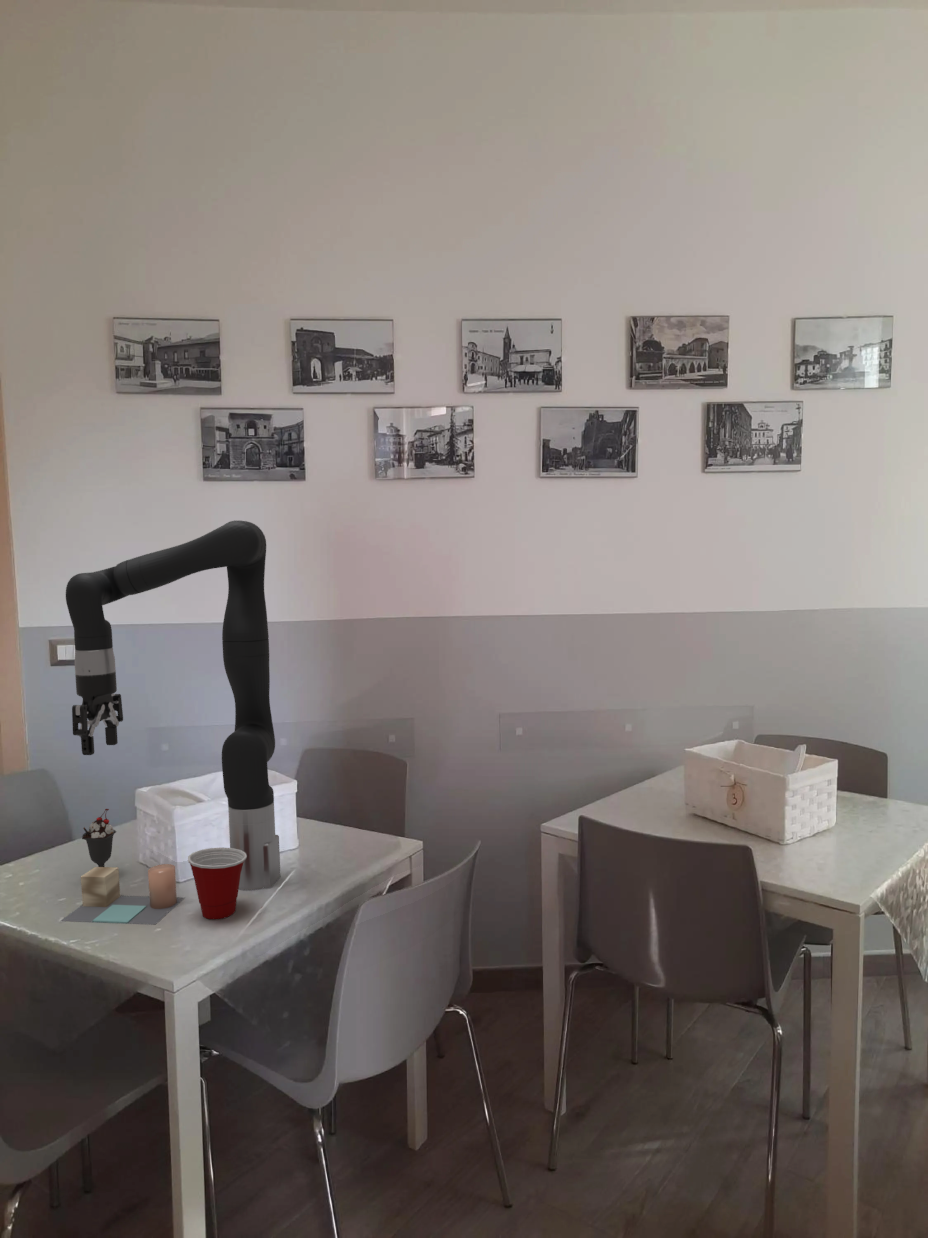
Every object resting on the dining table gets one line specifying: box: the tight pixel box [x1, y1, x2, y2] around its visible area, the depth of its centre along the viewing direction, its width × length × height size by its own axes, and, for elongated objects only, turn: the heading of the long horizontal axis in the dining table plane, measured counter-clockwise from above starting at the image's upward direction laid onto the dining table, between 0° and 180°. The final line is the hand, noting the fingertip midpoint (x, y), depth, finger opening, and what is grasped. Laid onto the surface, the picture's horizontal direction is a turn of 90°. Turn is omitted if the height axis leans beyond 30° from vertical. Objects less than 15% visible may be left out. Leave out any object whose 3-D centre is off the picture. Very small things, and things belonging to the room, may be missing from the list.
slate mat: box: [60, 894, 185, 926], centre depth 163 cm, size 19×12×1 cm, turn 83°
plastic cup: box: [187, 847, 247, 920], centre depth 159 cm, size 11×11×12 cm
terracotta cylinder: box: [147, 863, 178, 909], centre depth 164 cm, size 5×5×7 cm
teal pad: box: [91, 905, 146, 924], centre depth 160 cm, size 7×7×1 cm
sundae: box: [81, 808, 117, 867], centre depth 178 cm, size 7×7×15 cm
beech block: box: [80, 866, 121, 907], centre depth 166 cm, size 5×5×6 cm
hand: (100, 749), depth 171 cm, fingers open, 8 cm apart
